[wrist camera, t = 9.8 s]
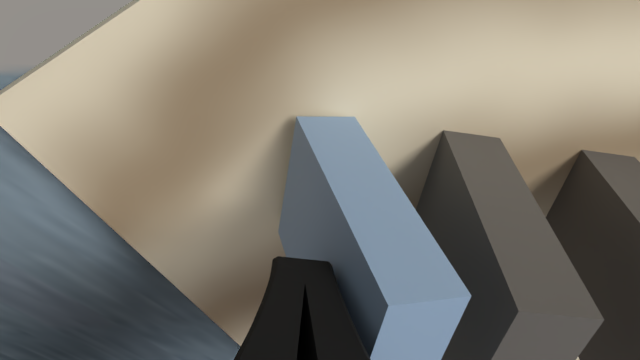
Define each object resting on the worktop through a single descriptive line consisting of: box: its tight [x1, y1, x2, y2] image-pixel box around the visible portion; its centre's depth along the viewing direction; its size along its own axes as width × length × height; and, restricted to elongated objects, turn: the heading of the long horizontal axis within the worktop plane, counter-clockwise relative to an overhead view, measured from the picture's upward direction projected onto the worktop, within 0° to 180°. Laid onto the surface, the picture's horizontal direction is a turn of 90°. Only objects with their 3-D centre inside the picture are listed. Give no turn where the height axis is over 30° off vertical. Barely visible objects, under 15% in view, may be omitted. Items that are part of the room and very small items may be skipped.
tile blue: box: [278, 116, 471, 360], centre depth 14 cm, size 2×4×7 cm, turn 171°
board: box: [0, 0, 640, 360], centre depth 18 cm, size 22×26×1 cm
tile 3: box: [546, 150, 640, 360], centre depth 15 cm, size 2×4×7 cm, turn 171°
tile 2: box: [416, 130, 604, 360], centre depth 15 cm, size 2×4×7 cm, turn 171°
